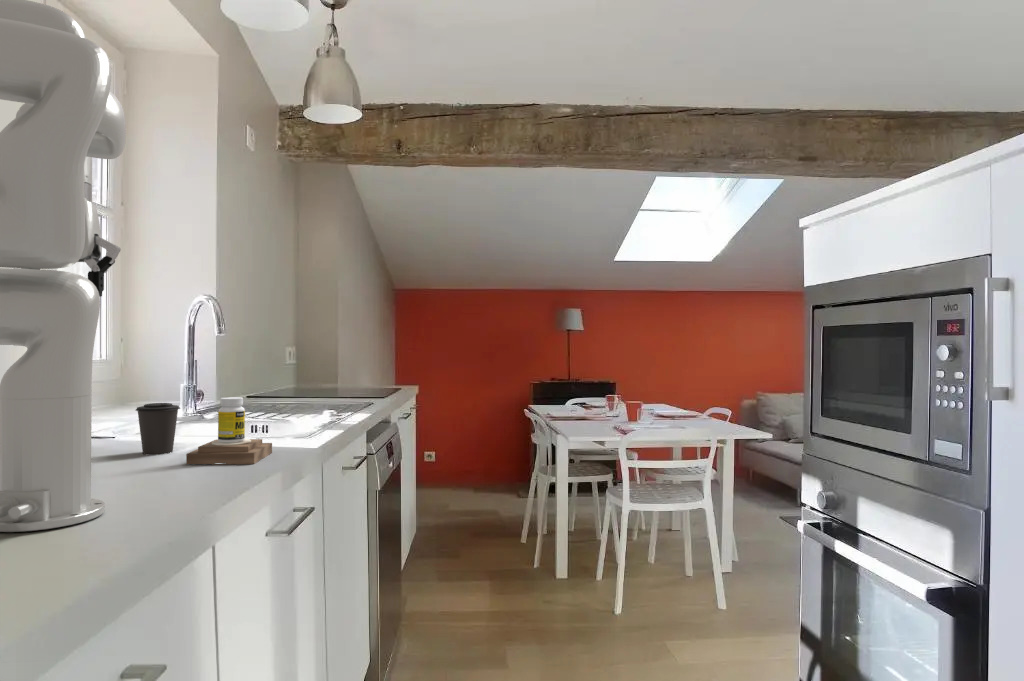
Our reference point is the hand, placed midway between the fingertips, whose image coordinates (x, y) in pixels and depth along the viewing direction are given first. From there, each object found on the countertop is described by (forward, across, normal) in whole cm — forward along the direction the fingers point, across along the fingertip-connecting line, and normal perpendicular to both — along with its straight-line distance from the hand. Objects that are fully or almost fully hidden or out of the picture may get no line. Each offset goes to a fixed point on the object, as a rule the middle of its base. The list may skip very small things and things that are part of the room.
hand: (64, 295), depth 109 cm
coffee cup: (+30, +5, +22) cm, 38 cm away
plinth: (+30, +22, +14) cm, 40 cm away
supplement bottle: (+27, +23, +14) cm, 38 cm away
